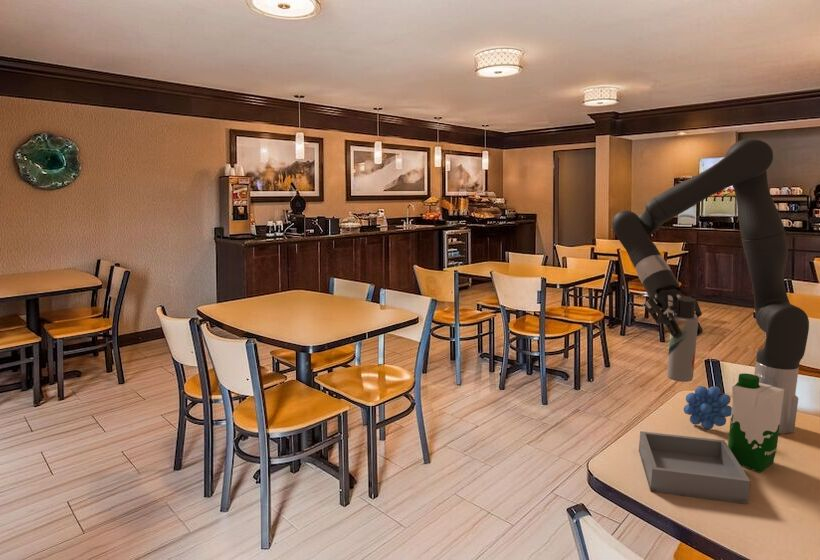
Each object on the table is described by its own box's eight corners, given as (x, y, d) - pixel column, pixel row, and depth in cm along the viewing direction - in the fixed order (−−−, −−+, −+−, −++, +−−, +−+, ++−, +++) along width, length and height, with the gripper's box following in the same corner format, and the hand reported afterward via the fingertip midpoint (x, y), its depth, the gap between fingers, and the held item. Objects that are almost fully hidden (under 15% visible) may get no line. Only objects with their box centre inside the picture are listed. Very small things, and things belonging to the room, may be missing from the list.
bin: (722, 460, 126) (724, 440, 125) (747, 504, 109) (750, 481, 108) (638, 450, 131) (640, 431, 130) (650, 491, 113) (652, 469, 113)
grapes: (736, 431, 141) (741, 387, 139) (726, 439, 136) (731, 393, 134) (689, 417, 149) (693, 375, 147) (678, 424, 145) (682, 381, 143)
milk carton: (737, 448, 131) (746, 369, 128) (780, 464, 124) (790, 380, 121) (720, 459, 126) (729, 377, 123) (763, 476, 119) (774, 389, 116)
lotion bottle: (690, 375, 134) (698, 295, 130) (694, 383, 129) (702, 300, 125) (665, 372, 136) (671, 294, 132) (668, 380, 130) (674, 299, 127)
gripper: (640, 270, 132) (673, 330, 123) (688, 267, 136) (723, 325, 127) (624, 287, 138) (654, 346, 129) (671, 284, 142) (703, 340, 133)
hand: (688, 335), depth 128 cm, fingers closed on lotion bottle, 5 cm apart
